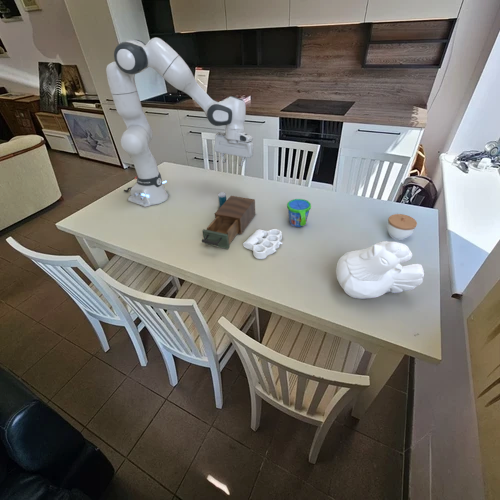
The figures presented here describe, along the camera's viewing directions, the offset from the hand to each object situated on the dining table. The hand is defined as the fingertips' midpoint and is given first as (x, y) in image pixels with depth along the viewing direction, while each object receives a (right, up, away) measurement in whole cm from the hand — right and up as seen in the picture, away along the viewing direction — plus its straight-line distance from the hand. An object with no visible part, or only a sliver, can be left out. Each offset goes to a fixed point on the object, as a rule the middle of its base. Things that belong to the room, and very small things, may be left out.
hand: (232, 164), depth 141 cm
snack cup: (+31, -31, -10) cm, 45 cm away
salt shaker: (-5, -22, +4) cm, 22 cm away
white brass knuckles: (+15, -42, -22) cm, 50 cm away
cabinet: (+2, -30, -7) cm, 31 cm away
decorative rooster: (+51, -59, -45) cm, 90 cm away
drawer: (-3, -39, -18) cm, 43 cm away
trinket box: (+73, -38, -21) cm, 84 cm away
